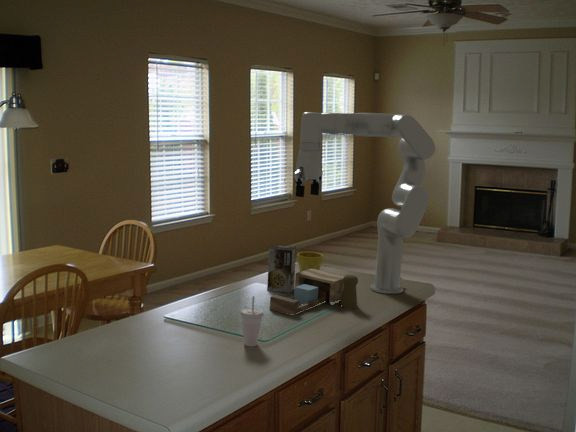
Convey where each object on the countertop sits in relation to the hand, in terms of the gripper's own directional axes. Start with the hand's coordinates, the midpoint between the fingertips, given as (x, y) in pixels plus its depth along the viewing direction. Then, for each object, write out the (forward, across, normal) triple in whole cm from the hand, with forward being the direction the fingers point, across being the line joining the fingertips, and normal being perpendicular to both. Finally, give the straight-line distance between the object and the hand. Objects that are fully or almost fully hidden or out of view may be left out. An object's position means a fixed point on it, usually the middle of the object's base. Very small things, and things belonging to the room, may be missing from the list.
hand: (307, 195), depth 234 cm
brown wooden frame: (+36, +13, +8) cm, 39 cm away
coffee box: (+36, 0, -9) cm, 38 cm away
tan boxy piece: (+36, -2, +8) cm, 37 cm away
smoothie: (+36, +54, +18) cm, 68 cm away
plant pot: (+36, -23, -11) cm, 45 cm away
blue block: (+36, +8, +8) cm, 38 cm away
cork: (+36, 0, +20) cm, 42 cm away
